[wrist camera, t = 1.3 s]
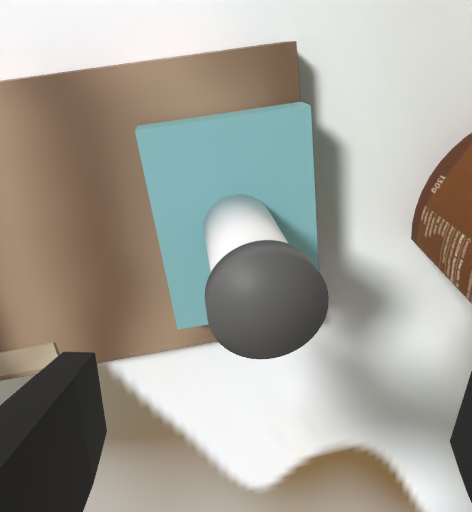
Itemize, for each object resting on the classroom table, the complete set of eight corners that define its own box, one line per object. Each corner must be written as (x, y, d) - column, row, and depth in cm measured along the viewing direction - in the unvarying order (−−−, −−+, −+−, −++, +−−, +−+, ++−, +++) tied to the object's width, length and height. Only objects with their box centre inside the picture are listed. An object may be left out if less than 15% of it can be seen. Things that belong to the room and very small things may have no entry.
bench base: (-69, 372, 21) (-142, 473, 16) (-208, 109, 16) (-379, 138, 11) (303, 306, 22) (341, 381, 17) (285, 41, 17) (333, 40, 12)
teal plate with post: (177, 314, 20) (180, 441, 13) (137, 125, 16) (115, 176, 10) (312, 290, 20) (377, 403, 14) (301, 101, 16) (382, 135, 10)
